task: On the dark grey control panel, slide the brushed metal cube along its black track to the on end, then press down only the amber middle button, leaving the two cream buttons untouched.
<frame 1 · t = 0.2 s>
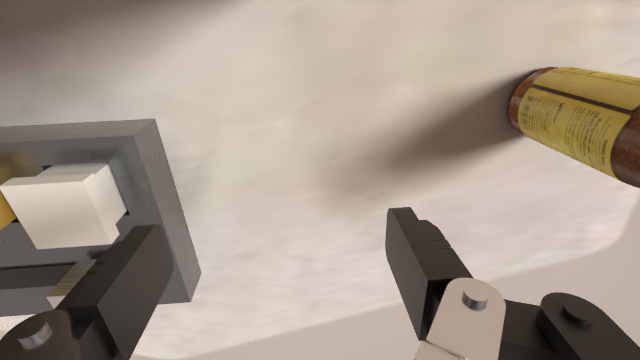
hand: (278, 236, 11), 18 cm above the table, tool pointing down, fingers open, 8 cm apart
brushed metal cube: (97, 292, 27), point 7 cm above the table, slide at 0.0 cm
sauce bottle: (538, 97, 28), on the table
panel: (35, 216, 30), on the table
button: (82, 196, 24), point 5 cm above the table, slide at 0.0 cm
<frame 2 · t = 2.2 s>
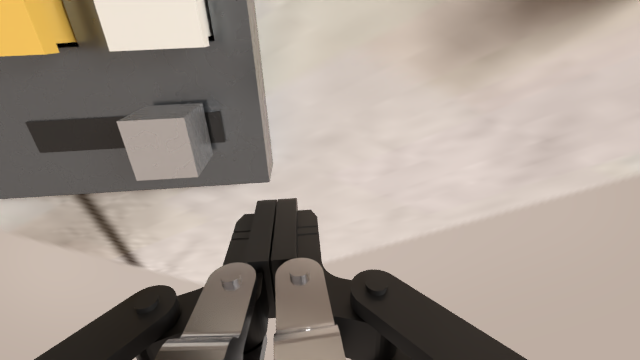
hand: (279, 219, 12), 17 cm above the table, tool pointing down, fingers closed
brushed metal cube: (170, 140, 21), point 7 cm above the table, slide at 0.0 cm
panel: (88, 72, 25), on the table
button mid: (13, 5, 19), point 5 cm above the table, slide at 0.0 cm
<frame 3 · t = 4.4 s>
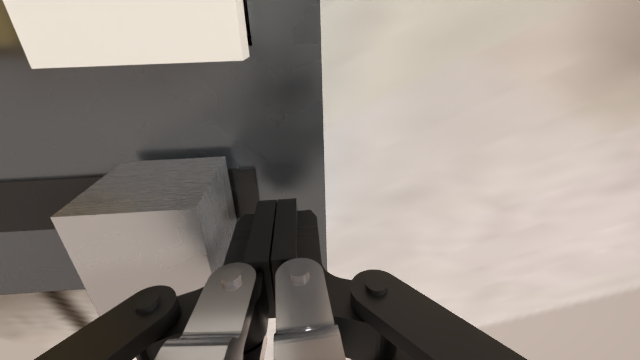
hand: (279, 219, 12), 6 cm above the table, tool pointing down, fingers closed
brushed metal cube: (167, 229, 11), point 7 cm above the table, slide at 0.0 cm, touching gripper
panel: (32, 94, 15), on the table
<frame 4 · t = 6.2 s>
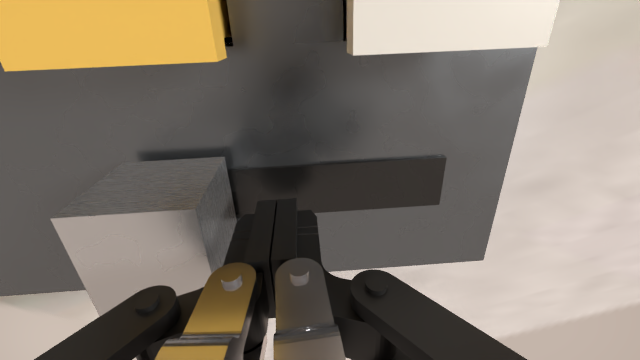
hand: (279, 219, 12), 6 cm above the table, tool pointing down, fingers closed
brushed metal cube: (167, 230, 11), point 7 cm above the table, slide at 8.4 cm, touching gripper
panel: (204, 87, 16), on the table
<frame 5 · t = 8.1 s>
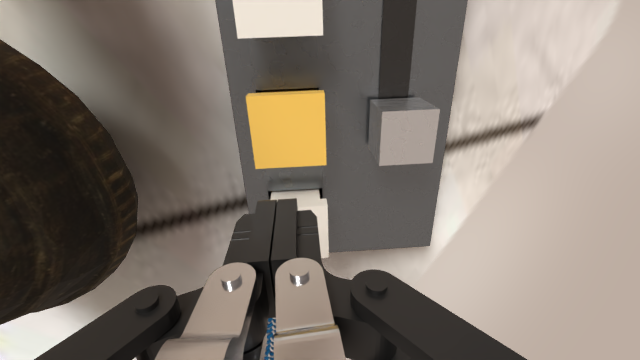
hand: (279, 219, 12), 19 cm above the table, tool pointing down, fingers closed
brushed metal cube: (400, 130, 24), point 7 cm above the table, slide at 8.5 cm
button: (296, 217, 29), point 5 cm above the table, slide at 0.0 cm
panel: (338, 106, 29), on the table
ceramic pot: (37, 151, 30), on the table
woven mat: (281, 324, 43), on the table
button mid: (289, 122, 25), point 5 cm above the table, slide at 0.0 cm
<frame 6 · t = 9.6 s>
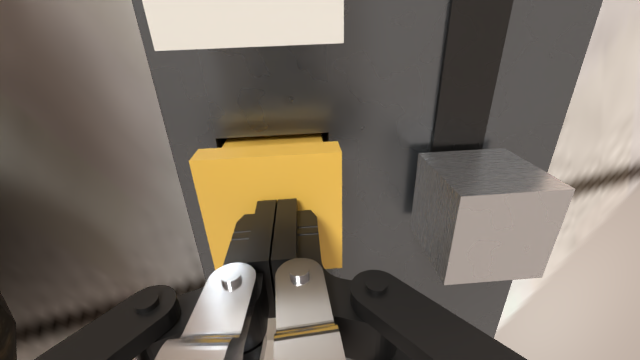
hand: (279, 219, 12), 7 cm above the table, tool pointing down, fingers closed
brushed metal cube: (476, 211, 13), point 7 cm above the table, slide at 8.5 cm
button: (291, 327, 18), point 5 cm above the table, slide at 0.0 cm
panel: (356, 150, 19), on the table
button mid: (277, 187, 15), point 4 cm above the table, slide at 0.5 cm, touching gripper
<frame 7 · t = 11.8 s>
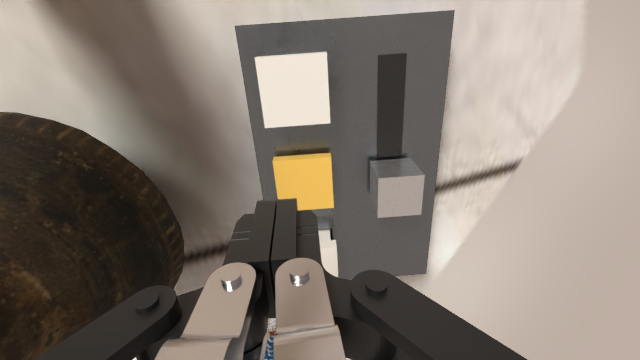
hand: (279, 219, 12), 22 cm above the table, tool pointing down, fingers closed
brushed metal cube: (394, 186, 29), point 7 cm above the table, slide at 8.5 cm
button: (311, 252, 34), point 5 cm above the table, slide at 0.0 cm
panel: (344, 159, 35), on the table
ceramic pot: (98, 200, 36), on the table
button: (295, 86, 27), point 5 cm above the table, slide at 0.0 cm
woven mat: (299, 338, 49), on the table
button mid: (304, 173, 32), point 3 cm above the table, slide at 1.6 cm
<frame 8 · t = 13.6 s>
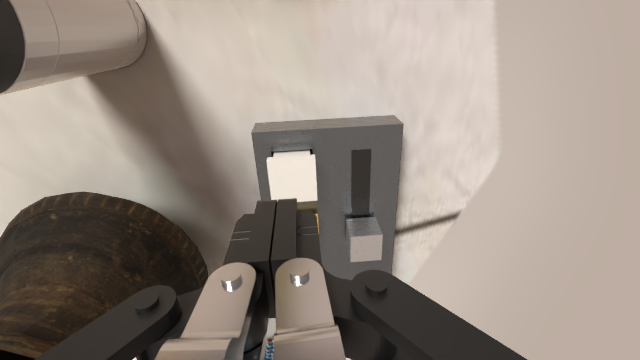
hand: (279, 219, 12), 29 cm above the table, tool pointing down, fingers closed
brushed metal cube: (363, 239, 41), point 7 cm above the table, slide at 8.5 cm
panel: (328, 211, 46), on the table
ceramic pot: (137, 240, 47), on the table
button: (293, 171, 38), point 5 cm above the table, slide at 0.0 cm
woven mat: (291, 343, 60), on the table
button mid: (298, 225, 43), point 3 cm above the table, slide at 1.6 cm
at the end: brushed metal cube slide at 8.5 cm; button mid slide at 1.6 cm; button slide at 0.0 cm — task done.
